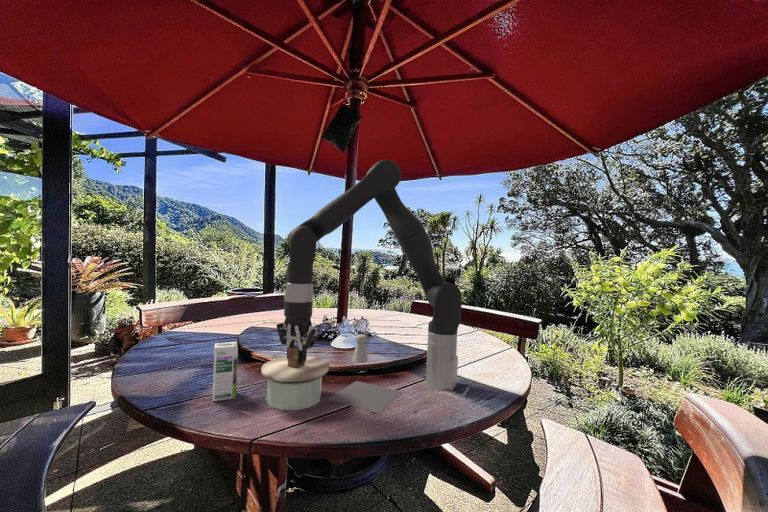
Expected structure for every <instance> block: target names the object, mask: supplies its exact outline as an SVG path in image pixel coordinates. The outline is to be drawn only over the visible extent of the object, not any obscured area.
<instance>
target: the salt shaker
mask: <svg viewBox="0 0 768 512" xmlns="http://www.w3.org/2000/svg"><path fill="white" fill-rule="evenodd" d="M354 341H355V348H354V352H353V357H352V361H354V362H358V363H365V362H367V361H368V362H369V359H368V353H367V352H368V351H367V345H366V343H367V342H368V335H367V334H362V333H359V334H356V335H355V337H354ZM366 372H367V370H366V371H360V372H358V373H359V374H362V373H363V374H364V373H366ZM358 373H357V374H358Z"/></svg>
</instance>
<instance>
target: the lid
mask: <svg viewBox="0 0 768 512" xmlns="http://www.w3.org/2000/svg"><path fill="white" fill-rule="evenodd" d="M306 356H307V355H306ZM298 358H299V345H295V346H293V347H290V348H288V359H287V356H283V357H282V356H281V357H278V358H273V359H272V360H270V361H269V360H268V361H267V362H265V363H263V365H261V366H260V367H261V369H260V370H261V371H260V373H261V375H262V377H264V378H266V379H267V380H268V379H271V380H275V381H283V382H298V381H306V380H312V379H315V378H318V377H321V376H322V377H323V376H325V375H326V374H327V373H328V372H329V371H330V364H329V362H328V361H327V360H325V359H323V358H320V357H316V356H307V357H306V361H305V362H304V363H302V364H299V363H298Z"/></svg>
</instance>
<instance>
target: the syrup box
mask: <svg viewBox="0 0 768 512" xmlns="http://www.w3.org/2000/svg"><path fill="white" fill-rule="evenodd" d="M238 346H239V345H238V342H237V341H230V342H217V343H214V349H213V350H214V353H213V355H214V358H213V378H212V381H213V382H212V384H213V385H212V402H213V401H215V402H218V401H219V402H220V401H227V400H232V399H233V400H234V399H236V398H237V385H238V384H237V380H238V379H237V378H238V358H239V357H238V356H239V354H238V353H239V347H238Z"/></svg>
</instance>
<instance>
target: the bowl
mask: <svg viewBox="0 0 768 512" xmlns="http://www.w3.org/2000/svg"><path fill="white" fill-rule="evenodd" d="M322 379H323V376H321V377H318V378H315V379H312V380H306V381H298V382H283V381H275V380H271V379H268V378H267V380H266V381H267V383H266V403H267V404H268V406H269V407H271V408H273V409H274V408H275V409H277V410H279V411H280V410H281V411H298V410H302V409H308V408H312V407H313V406H315V405H317V403H318V404H319V402H320V400H321V398H322V382H323V381H322Z"/></svg>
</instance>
